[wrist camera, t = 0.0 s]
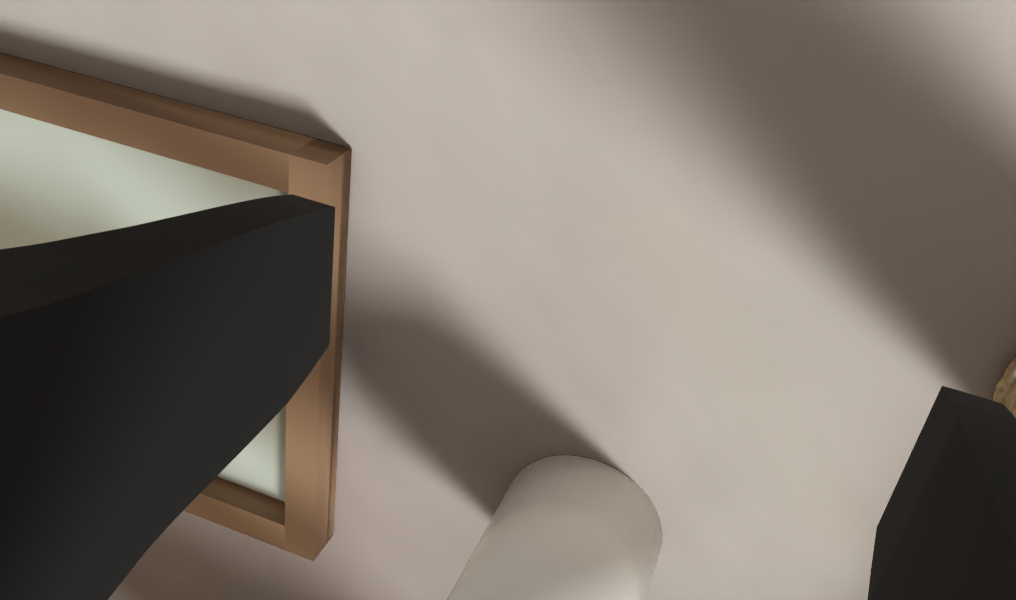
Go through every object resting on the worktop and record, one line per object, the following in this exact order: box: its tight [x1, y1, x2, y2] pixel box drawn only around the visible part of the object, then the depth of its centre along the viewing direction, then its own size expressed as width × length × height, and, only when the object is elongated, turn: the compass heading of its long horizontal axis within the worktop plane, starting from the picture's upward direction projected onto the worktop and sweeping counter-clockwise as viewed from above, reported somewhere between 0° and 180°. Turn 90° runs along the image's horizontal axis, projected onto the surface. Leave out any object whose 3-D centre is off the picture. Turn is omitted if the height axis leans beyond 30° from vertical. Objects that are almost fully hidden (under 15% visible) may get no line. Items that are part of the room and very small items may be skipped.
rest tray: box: [0, 52, 352, 561], centre depth 27 cm, size 13×13×1 cm
